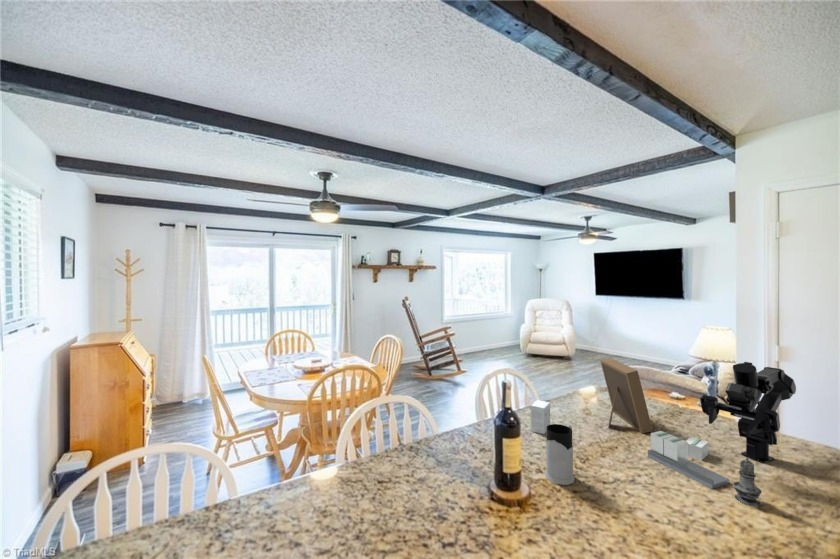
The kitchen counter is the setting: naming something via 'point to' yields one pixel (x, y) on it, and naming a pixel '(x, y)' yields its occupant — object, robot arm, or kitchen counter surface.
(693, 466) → the rail
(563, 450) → the glass holder
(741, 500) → the dark grey tall piece
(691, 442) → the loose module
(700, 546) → the kitchen counter surface
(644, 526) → the kitchen counter surface
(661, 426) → the kitchen counter surface
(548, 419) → the small box
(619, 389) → the photo frame
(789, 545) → the kitchen counter surface
